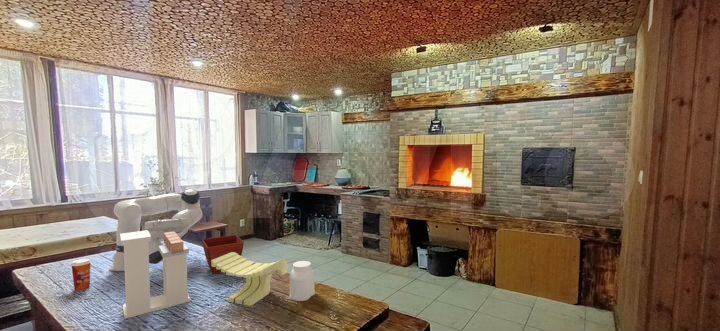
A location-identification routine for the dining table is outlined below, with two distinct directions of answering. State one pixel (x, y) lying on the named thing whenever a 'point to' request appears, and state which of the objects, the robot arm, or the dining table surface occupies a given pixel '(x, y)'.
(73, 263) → the paper cup
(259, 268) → the slatted curved stool
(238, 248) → the plant pot
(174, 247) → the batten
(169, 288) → the stand
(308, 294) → the jar
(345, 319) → the dining table surface
